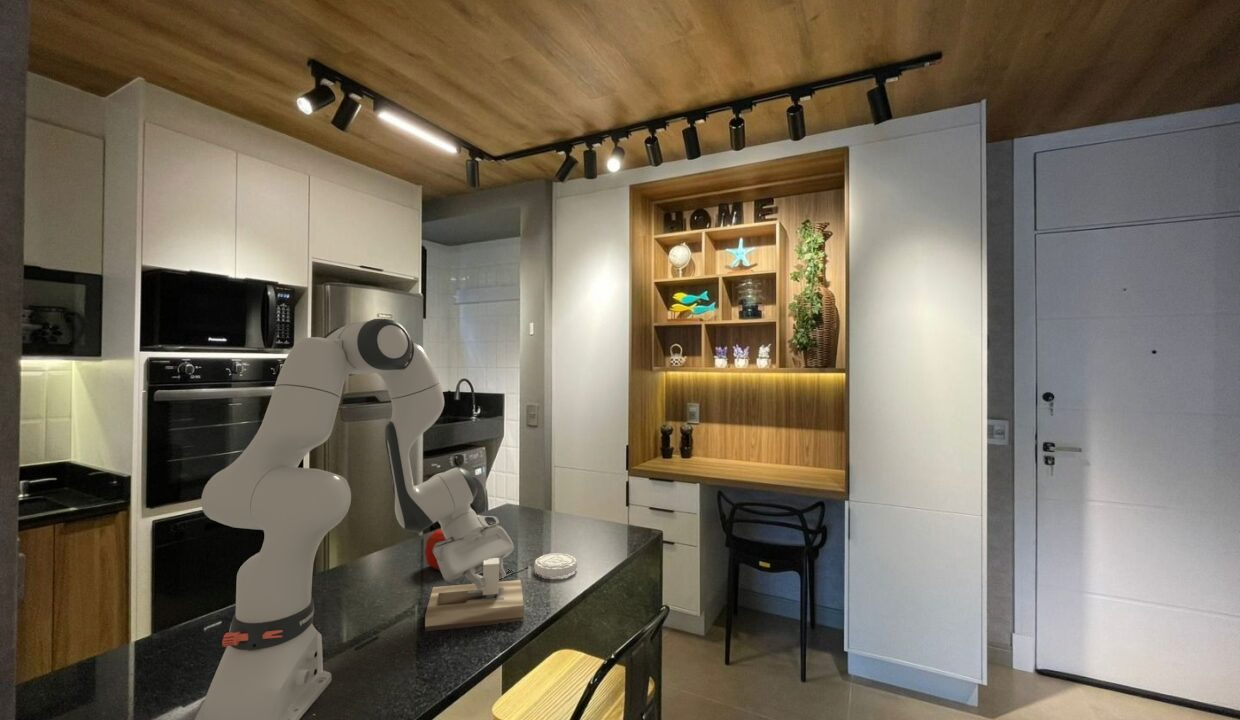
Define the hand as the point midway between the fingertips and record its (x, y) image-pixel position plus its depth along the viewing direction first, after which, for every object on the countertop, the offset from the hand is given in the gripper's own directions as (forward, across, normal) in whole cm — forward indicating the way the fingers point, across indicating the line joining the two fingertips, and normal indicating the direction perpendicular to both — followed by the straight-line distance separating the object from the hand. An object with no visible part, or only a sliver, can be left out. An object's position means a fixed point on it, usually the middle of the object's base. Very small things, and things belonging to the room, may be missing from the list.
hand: (493, 582), depth 119 cm
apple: (-17, +11, +26) cm, 33 cm away
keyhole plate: (+3, -2, +7) cm, 8 cm away
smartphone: (-5, +18, +15) cm, 24 cm away
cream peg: (+3, 0, +4) cm, 6 cm away
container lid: (+4, +27, +7) cm, 28 cm away
